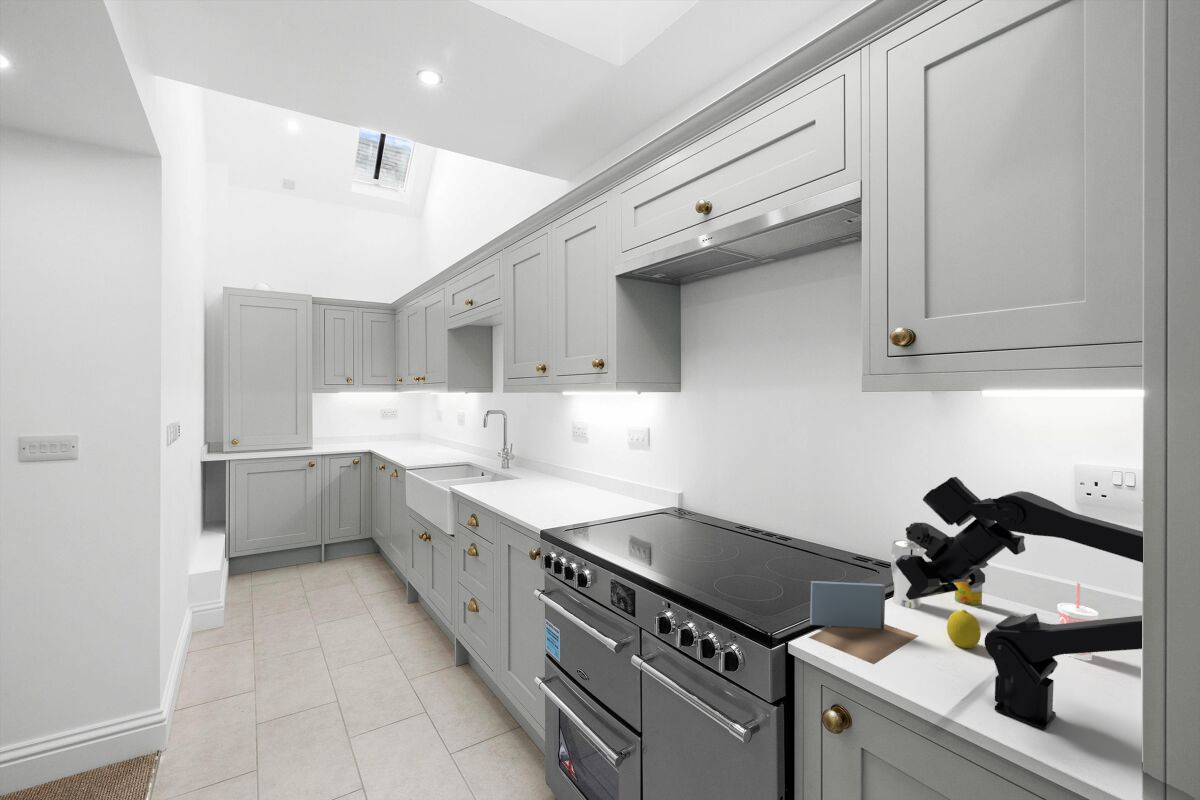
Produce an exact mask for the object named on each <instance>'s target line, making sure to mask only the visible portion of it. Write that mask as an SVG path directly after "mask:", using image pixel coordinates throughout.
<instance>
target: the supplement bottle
mask: <svg viewBox="0 0 1200 800" xmlns="http://www.w3.org/2000/svg"><path fill="white" fill-rule="evenodd" d="M969 582H971V580H970V579H969V580H968V581H966V582H956V583H954V584H955V585H956V586H957V588H958V591H954V602H955V603H957V604H962V605H965V606H969V607H973V608H974V609H975V608H976V609H980V608H982V603H983V584H982V585H980V586H979V587H978V588H969V587H968V586H967V585H968V583H969Z"/></svg>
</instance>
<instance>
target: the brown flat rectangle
mask: <svg viewBox="0 0 1200 800" xmlns="http://www.w3.org/2000/svg"><path fill="white" fill-rule="evenodd" d="M918 637H919V635H918V634H914V633H912V632H908V631H906V630H903V629H900V628H898V627H895V626H891V625H888V624H885V623H884V629H882V628H862V627H842V626H829V627H827V628H825V629H823V630H820V631H819V632H818V631H817V632H816V633H815V634H813V635H810V636H808V638H809V639H811V640H813V641H815V642H818V643H821V644H823V645H826V646H828V647H831V648H833V649H835V650H837V651H841V652H843V653H845V654H847V655H850V656H853V657H855V658H857V659H859V660H862V661H864V662H868V663H869V664H873V665H875V664H876V663H878V662H880V661H881V660H883V659H884V658H886V657H888V655H891V654H893V653H894V652H895V651H897V650H898V649H900V648H902V647H903V646H905V645H907V644H908V643H909V642H911V641H912V640H915V639H916V638H918Z"/></svg>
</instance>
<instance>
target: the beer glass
mask: <svg viewBox="0 0 1200 800" xmlns="http://www.w3.org/2000/svg"><path fill="white" fill-rule="evenodd" d="M924 552H926V549H924V548H922V547H921V546H919V545H918V544H916V543H915V542H913V541H910V540H903V539H902V540H901V539H900V540H899V539H898V540H893V541H892V545H891V555H890V558H891V559H890V566H891V567H890V568H891V574H892V580H893V587H894V588H893V589H894V590H893V591H894V592H893V597H892V602H893V603H894V604H895V605H897V606H900V607H903V608H907V609H919V608H921V607H922V603H921V598H918V599H914V600H909V599H908V598H907V596H906V593H907V591H908V590H909V588H910V586H911V584H910V582H909V581H908V580H907V578H906V577H905V576H904V574H903V573H902V572H901V571H900V569H899V568H898V567H897V565H896V563H895V561H896V560H898V559H899V558H900V557H901V556H902V555H918V556H922V557H923V559H924V560H925V561H926V555H925V554H924Z"/></svg>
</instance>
